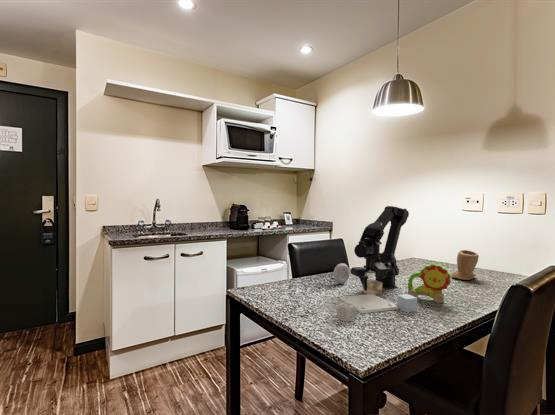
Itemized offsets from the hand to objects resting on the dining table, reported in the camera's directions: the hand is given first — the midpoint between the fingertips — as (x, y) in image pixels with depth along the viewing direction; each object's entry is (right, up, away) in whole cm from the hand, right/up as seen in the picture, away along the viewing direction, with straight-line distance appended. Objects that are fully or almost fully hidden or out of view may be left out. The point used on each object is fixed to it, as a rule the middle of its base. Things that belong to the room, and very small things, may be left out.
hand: (371, 290), depth 140 cm
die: (-18, -2, -31) cm, 36 cm away
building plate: (-6, -1, -16) cm, 17 cm away
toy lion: (+21, -2, -9) cm, 23 cm away
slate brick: (+7, -2, -21) cm, 22 cm away
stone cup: (+58, -1, +28) cm, 65 cm away
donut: (-11, -1, +13) cm, 17 cm away
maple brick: (0, -1, 0) cm, 1 cm away
